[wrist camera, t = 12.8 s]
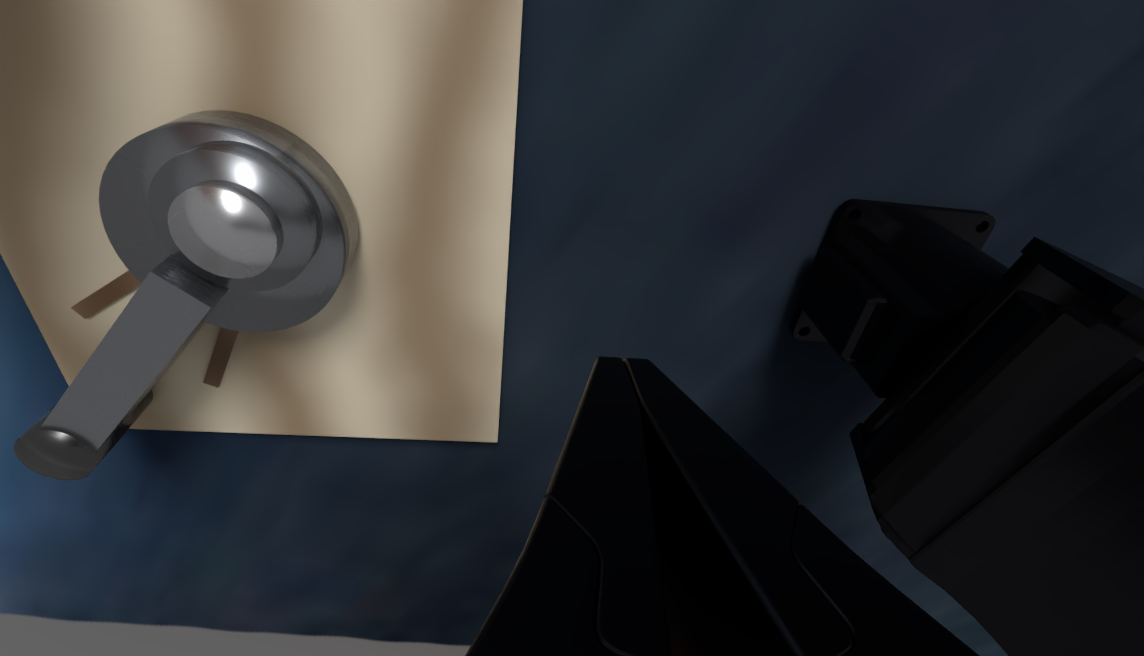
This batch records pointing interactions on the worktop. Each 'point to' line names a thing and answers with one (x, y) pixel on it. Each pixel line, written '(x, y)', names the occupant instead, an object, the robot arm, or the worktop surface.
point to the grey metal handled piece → (198, 264)
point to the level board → (344, 139)
